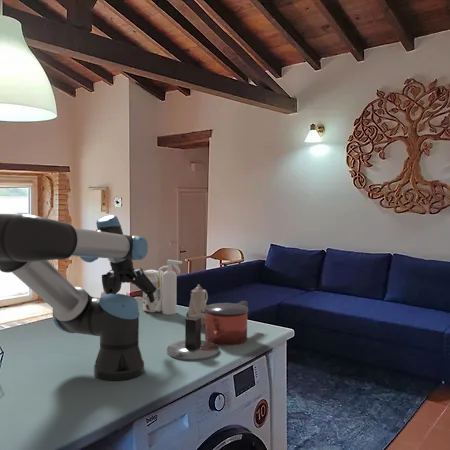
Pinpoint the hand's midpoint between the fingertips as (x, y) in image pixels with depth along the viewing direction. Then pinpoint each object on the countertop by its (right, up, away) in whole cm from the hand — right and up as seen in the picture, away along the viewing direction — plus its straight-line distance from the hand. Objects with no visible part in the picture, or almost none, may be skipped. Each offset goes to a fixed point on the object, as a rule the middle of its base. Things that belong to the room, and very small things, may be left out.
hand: (137, 310), depth 174 cm
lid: (+21, -13, -7) cm, 26 cm away
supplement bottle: (-22, -10, +46) cm, 51 cm away
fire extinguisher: (+6, -10, +47) cm, 49 cm away
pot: (+35, -12, +13) cm, 39 cm away
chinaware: (+23, -11, +33) cm, 41 cm away
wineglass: (-17, -11, +32) cm, 38 cm away
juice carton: (-2, -10, +52) cm, 53 cm away
